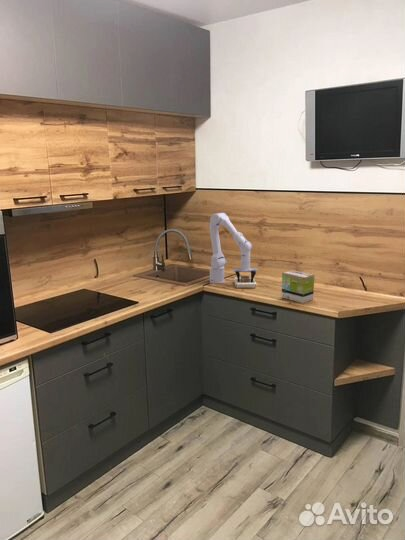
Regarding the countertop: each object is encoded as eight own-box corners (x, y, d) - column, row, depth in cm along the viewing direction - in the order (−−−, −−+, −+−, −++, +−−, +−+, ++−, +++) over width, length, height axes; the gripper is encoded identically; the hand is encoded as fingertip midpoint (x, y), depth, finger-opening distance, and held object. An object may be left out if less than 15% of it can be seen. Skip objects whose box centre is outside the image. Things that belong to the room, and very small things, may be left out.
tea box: (280, 298, 259) (281, 272, 256) (291, 294, 266) (292, 269, 263) (303, 303, 249) (304, 276, 245) (313, 300, 255) (315, 273, 252)
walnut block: (241, 286, 281) (241, 278, 280) (240, 283, 289) (240, 275, 288) (249, 286, 281) (250, 278, 280) (248, 283, 289) (248, 275, 288)
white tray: (236, 289, 277) (236, 284, 276) (234, 282, 294) (234, 277, 293) (256, 289, 277) (256, 283, 276) (253, 282, 294) (253, 277, 293)
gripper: (234, 263, 278) (234, 285, 281) (258, 262, 278) (257, 284, 281) (233, 260, 285) (233, 282, 288) (256, 260, 285) (256, 281, 288)
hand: (245, 283), depth 285 cm, fingers open, 7 cm apart
